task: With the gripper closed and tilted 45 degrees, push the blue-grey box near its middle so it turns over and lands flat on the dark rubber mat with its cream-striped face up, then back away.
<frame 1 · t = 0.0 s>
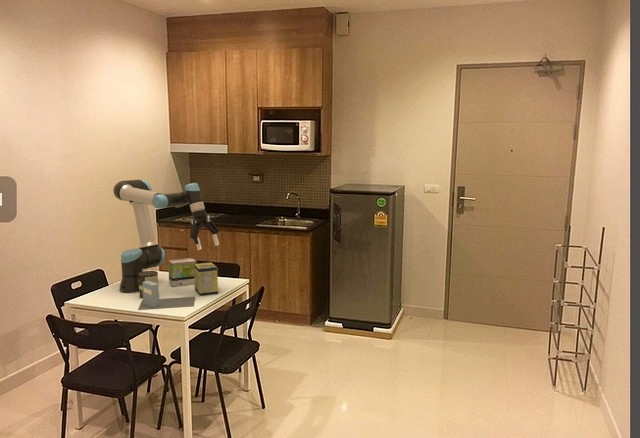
hand: (208, 247, 276), 28 cm above the table, tool tilted 20°, fingers open, 13 cm apart
mat: (167, 304, 266), on the table
coffee can: (149, 297, 279), on the table
blue-grey box: (151, 305, 263), point 1 cm above the table, touching mat
protein box: (206, 292, 290), on the table
tea box: (183, 284, 307), on the table
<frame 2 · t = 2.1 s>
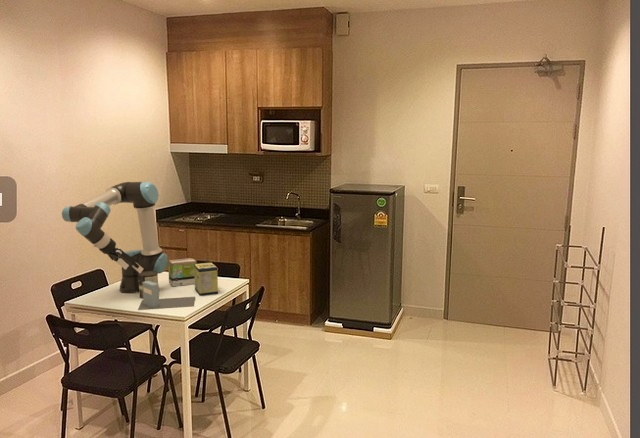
hand: (134, 269, 253), 22 cm above the table, tool tilted 45°, fingers open, 13 cm apart
nothing on the table moved.
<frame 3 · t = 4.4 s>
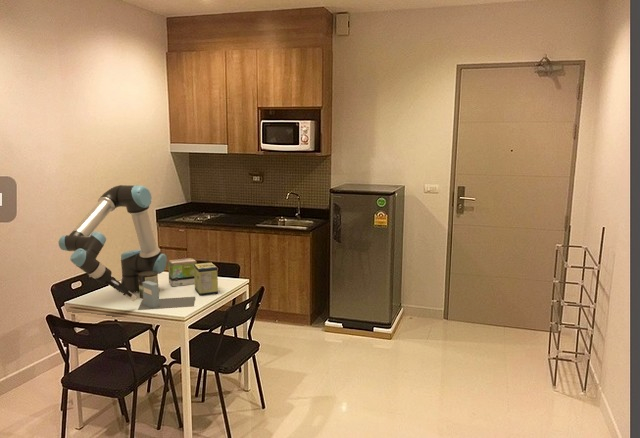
hand: (134, 298, 255), 6 cm above the table, tool tilted 45°, fingers closed
nothing on the table moved.
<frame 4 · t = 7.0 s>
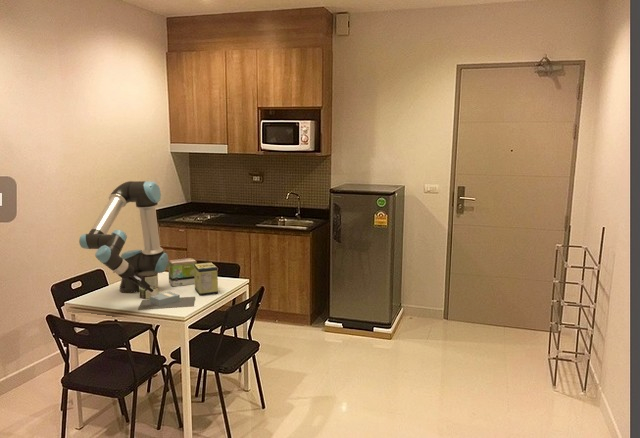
hand: (155, 294, 263), 6 cm above the table, tool tilted 45°, fingers closed
blue-grey box: (154, 301, 264), point 2 cm above the table, tilted 90°, touching mat
everything else where it was.
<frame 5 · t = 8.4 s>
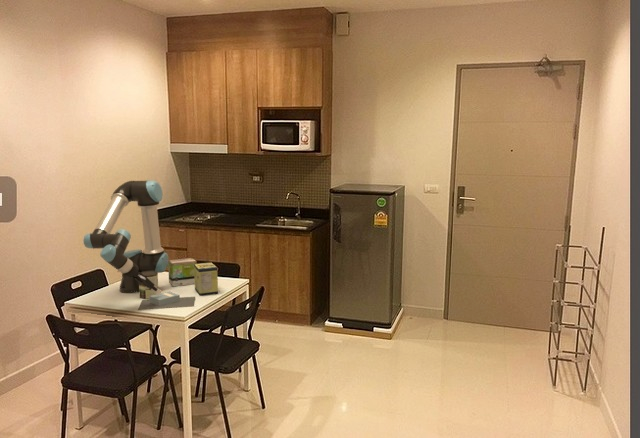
hand: (159, 293, 265), 6 cm above the table, tool tilted 45°, fingers closed
nothing on the table moved.
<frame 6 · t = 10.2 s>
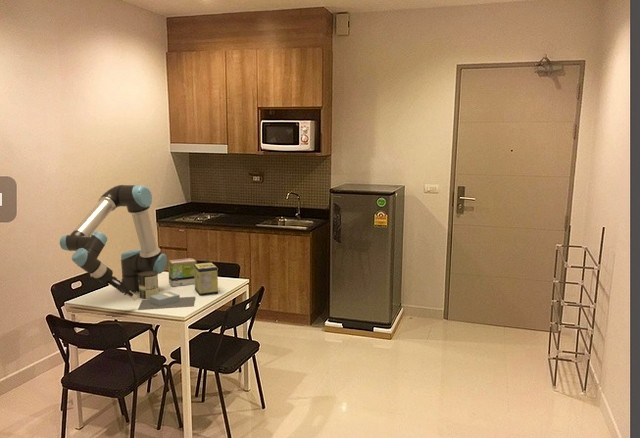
hand: (135, 298, 256), 6 cm above the table, tool tilted 45°, fingers closed
nothing on the table moved.
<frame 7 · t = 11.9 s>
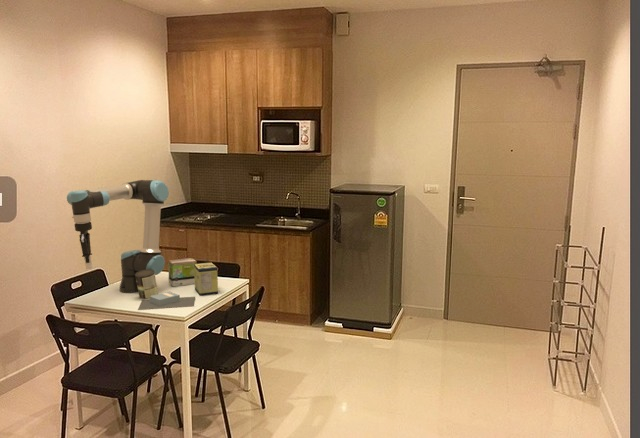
hand: (89, 268, 249), 23 cm above the table, tool pointing down, fingers closed
coffee can: (149, 296, 278), point 1 cm above the table, touching arm
everything else where it was.
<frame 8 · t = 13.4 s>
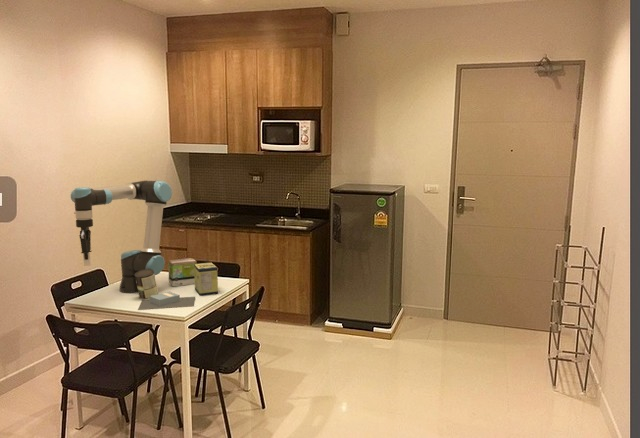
hand: (87, 265, 249), 24 cm above the table, tool pointing down, fingers closed
nothing on the table moved.
at the end: blue-grey box tilted 90°; blue-grey box inside the target area (6.6 cm from its centre), point 2.3 cm above the table; the gripper is holding nothing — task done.
